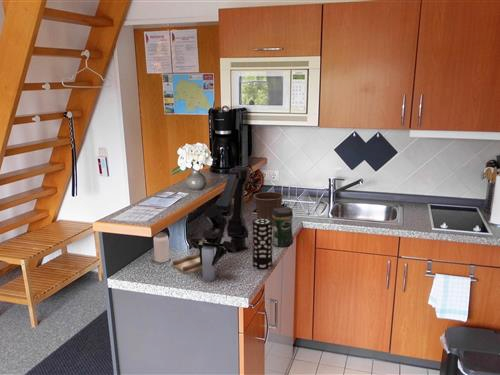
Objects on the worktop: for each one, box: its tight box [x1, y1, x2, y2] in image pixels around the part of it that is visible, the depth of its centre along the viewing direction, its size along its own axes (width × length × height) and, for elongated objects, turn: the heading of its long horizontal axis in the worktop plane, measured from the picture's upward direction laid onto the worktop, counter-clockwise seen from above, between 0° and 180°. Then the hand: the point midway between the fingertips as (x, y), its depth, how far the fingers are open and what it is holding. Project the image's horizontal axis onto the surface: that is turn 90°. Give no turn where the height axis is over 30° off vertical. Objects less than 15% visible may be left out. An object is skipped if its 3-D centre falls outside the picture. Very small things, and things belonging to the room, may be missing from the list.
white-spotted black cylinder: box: [251, 218, 273, 271], centre depth 179 cm, size 8×8×20 cm
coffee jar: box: [272, 206, 294, 248], centre depth 203 cm, size 10×8×19 cm
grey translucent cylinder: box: [201, 246, 216, 282], centre depth 168 cm, size 5×5×13 cm
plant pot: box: [253, 191, 284, 227], centre depth 235 cm, size 16×16×16 cm
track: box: [171, 252, 218, 275], centre depth 183 cm, size 16×11×2 cm
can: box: [153, 232, 170, 264], centre depth 187 cm, size 6×6×12 cm
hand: (206, 264), depth 167 cm, fingers closed on grey translucent cylinder, 5 cm apart
